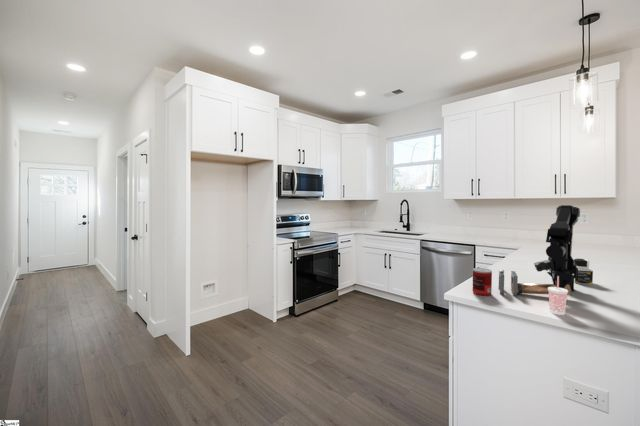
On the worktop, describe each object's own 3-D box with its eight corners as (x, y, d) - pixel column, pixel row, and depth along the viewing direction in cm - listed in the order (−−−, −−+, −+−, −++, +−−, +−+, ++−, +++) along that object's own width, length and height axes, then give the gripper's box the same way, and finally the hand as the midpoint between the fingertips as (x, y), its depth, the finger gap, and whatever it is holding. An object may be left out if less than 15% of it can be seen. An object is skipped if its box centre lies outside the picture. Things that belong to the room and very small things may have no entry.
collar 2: (514, 290, 140) (515, 271, 140) (517, 296, 131) (517, 276, 131) (510, 289, 141) (511, 271, 141) (513, 295, 132) (513, 276, 132)
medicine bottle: (574, 283, 150) (575, 260, 150) (569, 279, 157) (569, 257, 156) (592, 284, 148) (593, 261, 147) (586, 281, 154) (587, 258, 154)
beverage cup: (543, 309, 116) (544, 274, 115) (559, 309, 116) (560, 274, 115) (554, 315, 110) (556, 278, 109) (571, 315, 110) (573, 278, 109)
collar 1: (502, 288, 142) (503, 268, 142) (504, 294, 134) (505, 272, 133) (497, 288, 143) (498, 267, 143) (499, 294, 135) (499, 272, 134)
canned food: (489, 291, 139) (489, 268, 138) (493, 297, 131) (493, 272, 131) (471, 290, 141) (471, 267, 141) (473, 295, 134) (474, 271, 133)
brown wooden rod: (568, 293, 129) (567, 283, 129) (571, 296, 125) (570, 286, 125) (511, 291, 138) (510, 281, 138) (512, 294, 134) (511, 284, 134)
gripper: (532, 250, 140) (531, 283, 141) (539, 258, 123) (539, 295, 124) (561, 252, 135) (561, 286, 135) (574, 260, 118) (573, 298, 119)
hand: (557, 291), depth 129 cm, fingers closed on brown wooden rod, 4 cm apart
